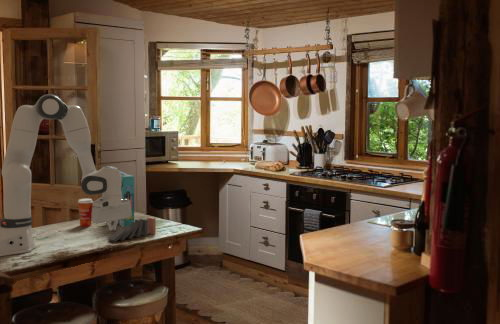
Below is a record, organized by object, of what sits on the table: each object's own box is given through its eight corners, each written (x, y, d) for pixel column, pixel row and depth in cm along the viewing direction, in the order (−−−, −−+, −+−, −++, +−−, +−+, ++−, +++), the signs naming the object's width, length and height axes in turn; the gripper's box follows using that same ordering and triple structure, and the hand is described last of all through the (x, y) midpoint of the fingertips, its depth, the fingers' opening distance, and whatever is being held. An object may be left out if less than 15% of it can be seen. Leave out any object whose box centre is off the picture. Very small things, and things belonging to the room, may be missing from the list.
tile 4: (137, 237, 268) (140, 220, 269) (131, 235, 271) (135, 219, 272) (139, 237, 269) (143, 221, 270) (133, 235, 272) (137, 219, 273)
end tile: (153, 234, 275) (152, 218, 275) (147, 233, 278) (147, 217, 277) (155, 233, 277) (155, 218, 276) (149, 232, 280) (149, 216, 279)
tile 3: (129, 237, 264) (137, 223, 268) (123, 235, 267) (132, 221, 270) (131, 239, 265) (139, 224, 269) (125, 237, 268) (134, 223, 271)
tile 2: (121, 238, 261) (132, 226, 265) (115, 237, 264) (126, 225, 268) (122, 240, 262) (134, 229, 266) (117, 239, 264) (128, 228, 269)
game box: (111, 220, 306) (110, 171, 303) (122, 219, 310) (121, 171, 307) (123, 227, 289) (122, 176, 286) (134, 226, 292) (134, 175, 289)
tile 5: (145, 236, 272) (145, 220, 271) (139, 234, 274) (139, 218, 274) (147, 235, 273) (147, 219, 272) (142, 234, 276) (141, 218, 275)
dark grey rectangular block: (113, 240, 257) (125, 229, 262) (107, 238, 260) (120, 228, 265) (114, 242, 258) (126, 232, 263) (108, 241, 261) (121, 231, 266)
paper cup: (75, 226, 290) (74, 200, 288) (84, 223, 297) (83, 197, 296) (87, 227, 287) (87, 201, 286) (96, 224, 294) (96, 199, 293)
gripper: (126, 197, 267) (126, 225, 269) (89, 202, 252) (90, 232, 253) (134, 198, 263) (134, 227, 265) (97, 204, 248) (98, 234, 249)
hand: (112, 229), depth 259 cm, fingers closed
